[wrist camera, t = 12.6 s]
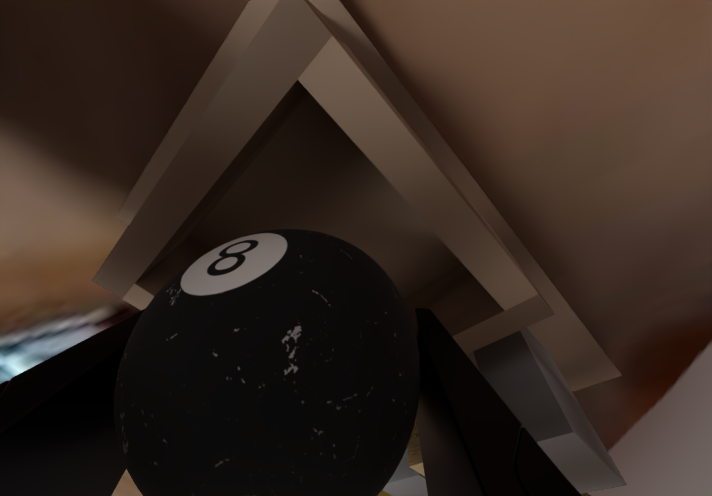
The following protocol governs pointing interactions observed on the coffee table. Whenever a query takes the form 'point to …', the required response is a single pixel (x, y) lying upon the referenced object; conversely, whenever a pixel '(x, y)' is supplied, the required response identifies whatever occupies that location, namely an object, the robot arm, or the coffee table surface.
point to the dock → (361, 213)
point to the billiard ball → (270, 373)
